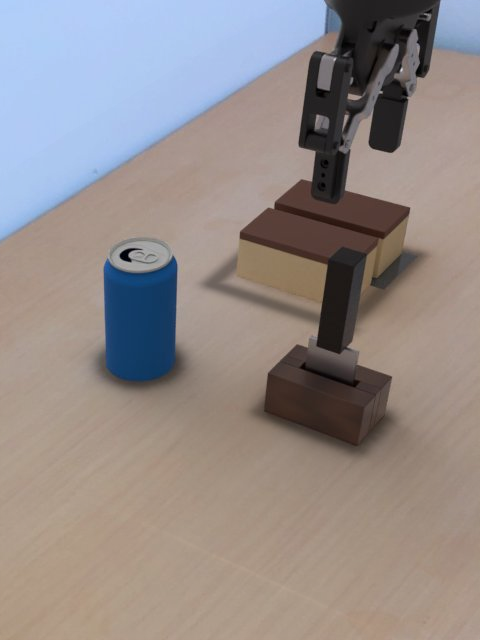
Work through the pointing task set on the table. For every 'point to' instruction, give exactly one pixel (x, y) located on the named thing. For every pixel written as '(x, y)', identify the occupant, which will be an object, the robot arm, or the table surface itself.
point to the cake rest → (354, 218)
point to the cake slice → (297, 252)
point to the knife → (338, 319)
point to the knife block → (326, 398)
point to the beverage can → (140, 308)
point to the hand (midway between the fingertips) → (355, 173)
